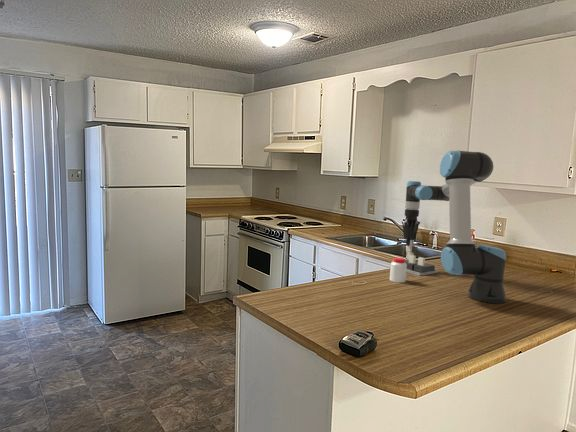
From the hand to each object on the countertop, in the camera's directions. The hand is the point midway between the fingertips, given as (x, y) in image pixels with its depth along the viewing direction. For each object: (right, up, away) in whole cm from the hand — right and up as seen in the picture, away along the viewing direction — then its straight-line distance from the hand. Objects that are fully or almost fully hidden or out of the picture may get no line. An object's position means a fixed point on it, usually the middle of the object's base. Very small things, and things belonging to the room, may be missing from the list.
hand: (408, 251), depth 243 cm
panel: (+2, -10, -4) cm, 11 cm away
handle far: (+3, -7, -11) cm, 13 cm away
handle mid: (0, -6, -6) cm, 8 cm away
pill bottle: (-13, -12, -27) cm, 33 cm away
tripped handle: (+1, -5, +2) cm, 5 cm away
